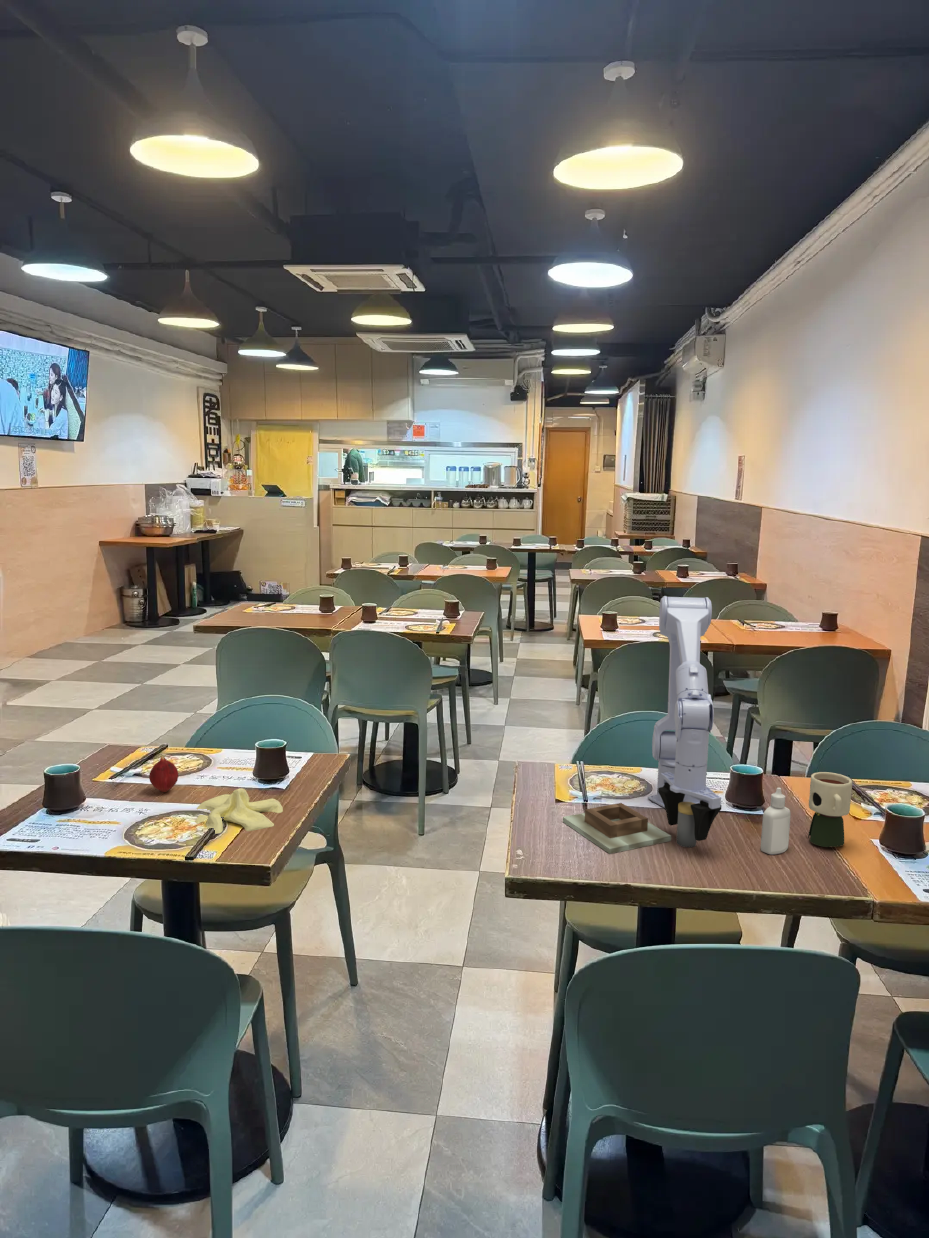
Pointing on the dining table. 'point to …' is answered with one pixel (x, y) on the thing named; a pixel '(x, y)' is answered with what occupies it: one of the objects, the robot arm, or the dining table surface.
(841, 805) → the character mug
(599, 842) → the holder
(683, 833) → the yellow capped shaker
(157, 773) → the onion
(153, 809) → the dining table surface
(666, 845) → the dining table surface
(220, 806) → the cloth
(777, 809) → the eye dropper bottle
